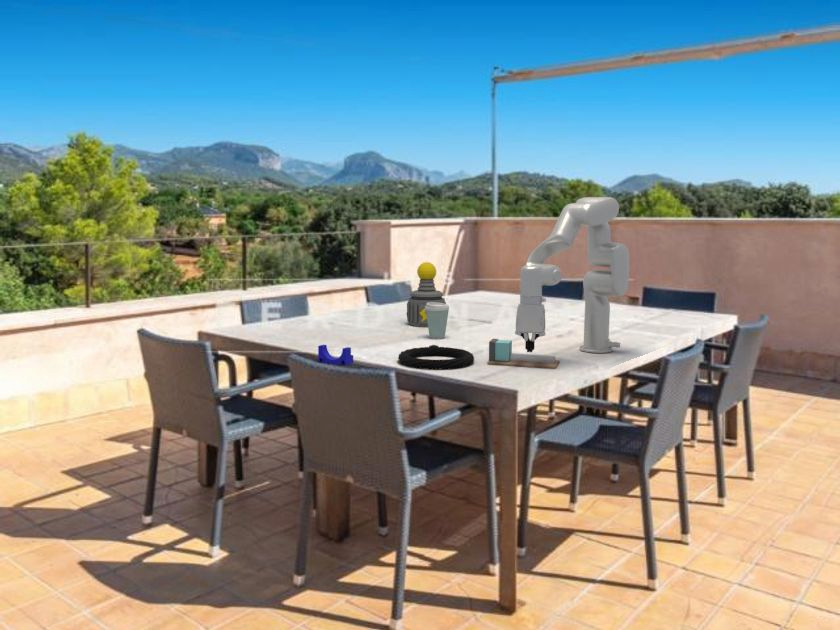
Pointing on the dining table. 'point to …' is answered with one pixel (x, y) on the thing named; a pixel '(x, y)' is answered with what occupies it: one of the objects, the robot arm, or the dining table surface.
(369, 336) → the dining table surface
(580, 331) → the dining table surface
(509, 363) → the board
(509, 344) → the slider
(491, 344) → the stop
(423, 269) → the decorative lamp
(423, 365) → the cable lock
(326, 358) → the cable clip
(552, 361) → the rail
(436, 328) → the disposable coffee cup
